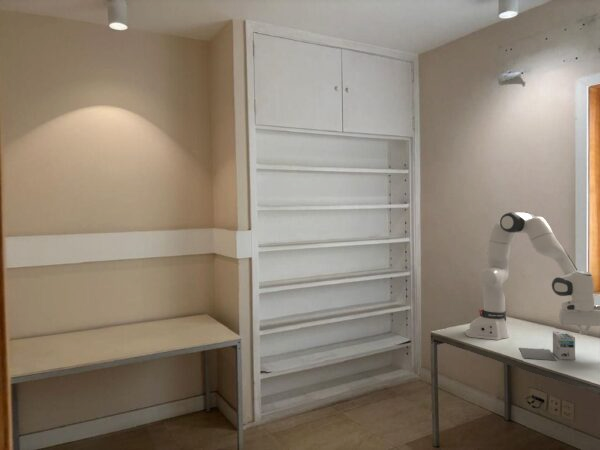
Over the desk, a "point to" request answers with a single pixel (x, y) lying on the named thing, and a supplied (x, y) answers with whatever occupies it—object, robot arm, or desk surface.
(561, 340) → the light bulb box
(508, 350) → the desk surface
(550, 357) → the rubber mat
